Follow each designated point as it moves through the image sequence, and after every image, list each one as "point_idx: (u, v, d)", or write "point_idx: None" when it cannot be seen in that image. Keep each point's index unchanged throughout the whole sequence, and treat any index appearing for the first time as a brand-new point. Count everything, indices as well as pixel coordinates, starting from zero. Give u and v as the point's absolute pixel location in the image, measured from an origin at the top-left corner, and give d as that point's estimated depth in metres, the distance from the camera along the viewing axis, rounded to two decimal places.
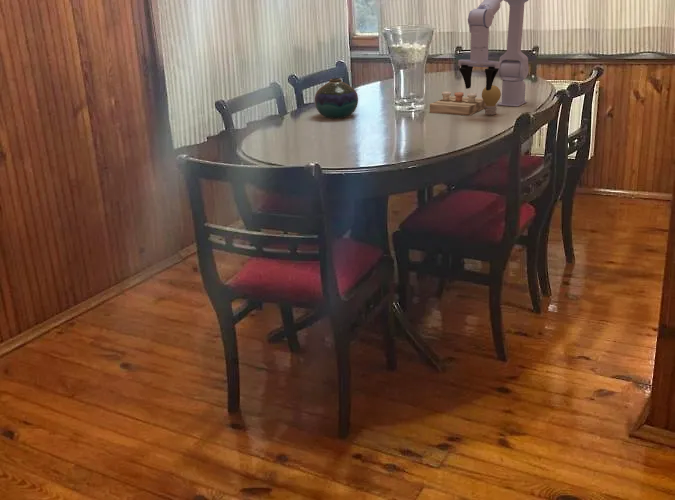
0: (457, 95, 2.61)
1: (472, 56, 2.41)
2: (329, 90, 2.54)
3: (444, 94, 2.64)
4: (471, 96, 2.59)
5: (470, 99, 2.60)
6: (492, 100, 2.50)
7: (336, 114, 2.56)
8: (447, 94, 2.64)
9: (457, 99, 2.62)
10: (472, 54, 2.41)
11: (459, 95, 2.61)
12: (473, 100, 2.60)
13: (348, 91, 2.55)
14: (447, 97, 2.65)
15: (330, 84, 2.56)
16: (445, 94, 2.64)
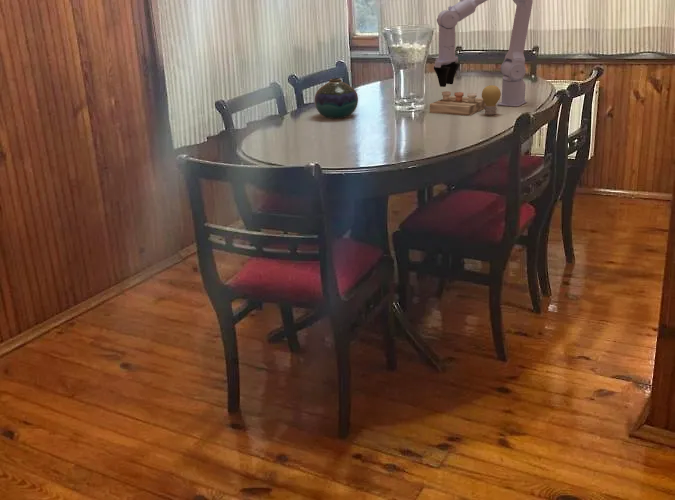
0: (457, 95, 2.61)
1: None
2: (329, 90, 2.54)
3: (444, 94, 2.64)
4: (471, 96, 2.59)
5: (470, 99, 2.60)
6: (492, 100, 2.50)
7: (336, 114, 2.56)
8: (447, 94, 2.64)
9: (457, 99, 2.62)
10: None
11: (459, 95, 2.61)
12: (473, 100, 2.60)
13: (348, 91, 2.55)
14: (447, 97, 2.65)
15: (330, 84, 2.56)
16: (445, 94, 2.64)
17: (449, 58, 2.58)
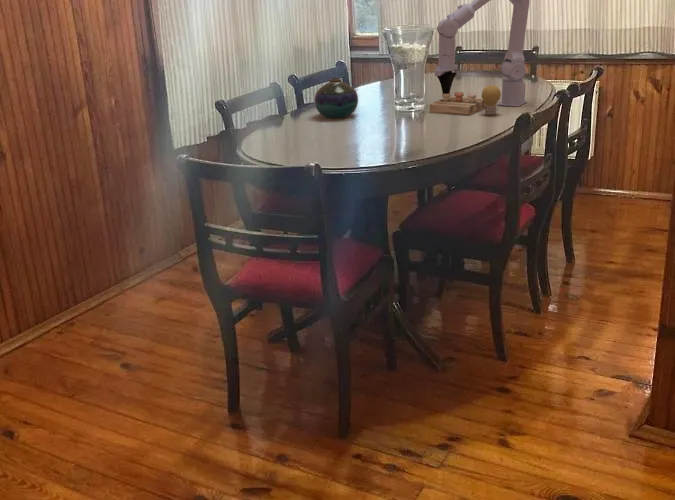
0: (457, 95, 2.61)
1: None
2: (329, 90, 2.54)
3: (444, 95, 2.64)
4: (471, 96, 2.59)
5: (470, 99, 2.60)
6: (492, 100, 2.50)
7: (336, 114, 2.56)
8: (447, 95, 2.64)
9: (457, 99, 2.62)
10: None
11: (459, 95, 2.61)
12: (473, 100, 2.60)
13: (348, 91, 2.55)
14: (447, 98, 2.65)
15: (330, 84, 2.56)
16: (445, 95, 2.64)
17: (449, 66, 2.59)
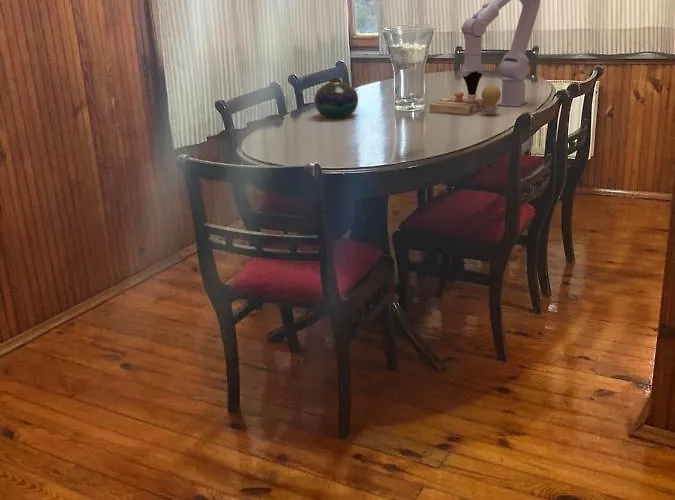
0: (457, 95, 2.61)
1: None
2: (329, 90, 2.54)
3: (444, 100, 2.65)
4: (471, 96, 2.59)
5: (470, 99, 2.60)
6: (492, 100, 2.50)
7: (336, 114, 2.56)
8: (447, 100, 2.65)
9: (457, 99, 2.62)
10: None
11: (459, 95, 2.61)
12: (473, 100, 2.60)
13: (348, 91, 2.55)
14: None
15: (330, 84, 2.56)
16: (445, 100, 2.65)
17: (475, 67, 2.54)
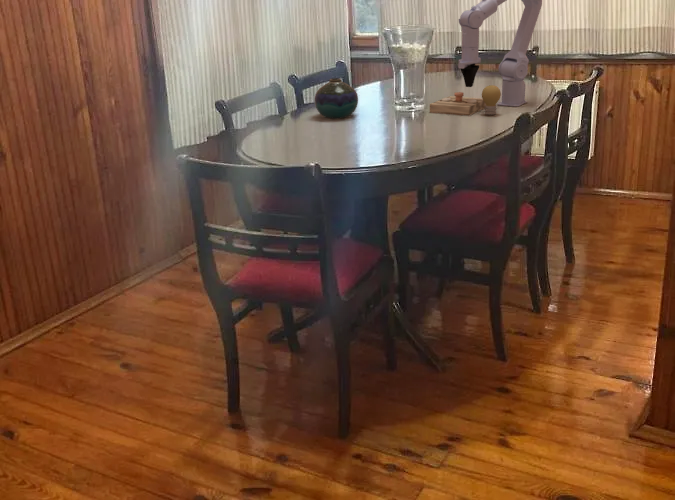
0: (457, 95, 2.61)
1: None
2: (329, 90, 2.54)
3: (444, 100, 2.65)
4: (471, 103, 2.60)
5: None
6: (492, 100, 2.50)
7: (336, 114, 2.56)
8: (447, 100, 2.65)
9: (457, 99, 2.62)
10: None
11: (459, 95, 2.61)
12: None
13: (348, 91, 2.55)
14: None
15: (330, 84, 2.56)
16: (445, 100, 2.65)
17: (473, 59, 2.53)
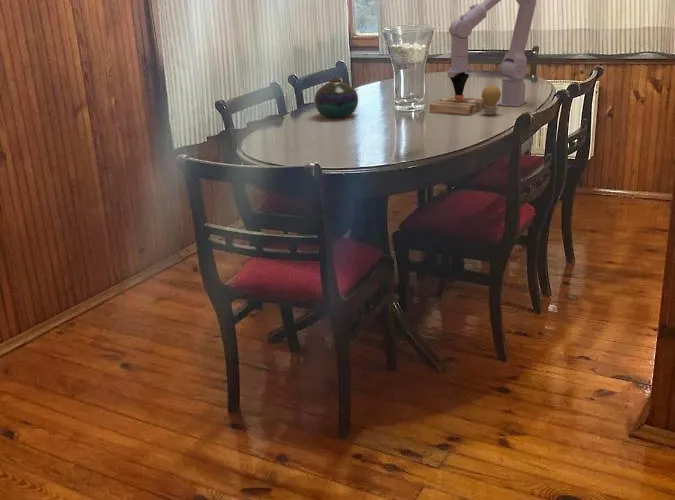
0: (457, 97, 2.62)
1: None
2: (329, 90, 2.54)
3: (444, 100, 2.65)
4: (471, 103, 2.60)
5: None
6: (492, 100, 2.50)
7: (336, 114, 2.56)
8: (447, 100, 2.65)
9: (457, 101, 2.63)
10: None
11: (459, 97, 2.62)
12: None
13: (348, 91, 2.55)
14: None
15: (330, 84, 2.56)
16: (445, 100, 2.65)
17: (462, 68, 2.57)
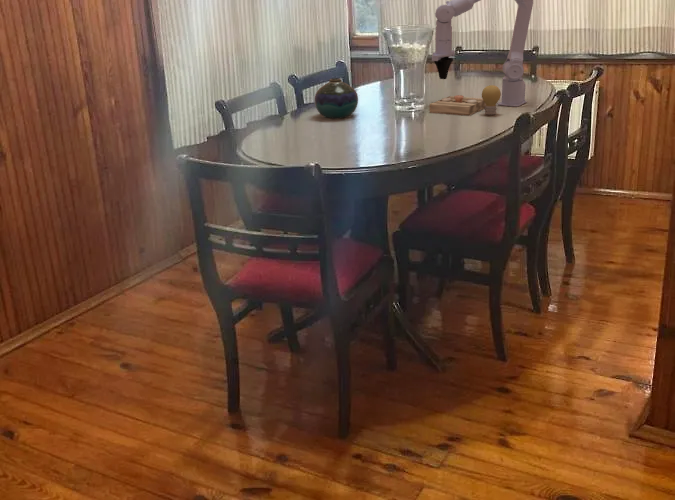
0: (457, 98, 2.62)
1: None
2: (329, 90, 2.54)
3: (444, 100, 2.65)
4: (471, 103, 2.60)
5: None
6: (492, 100, 2.50)
7: (336, 114, 2.56)
8: (447, 100, 2.65)
9: (457, 102, 2.63)
10: None
11: (459, 98, 2.62)
12: None
13: (348, 91, 2.55)
14: None
15: (330, 84, 2.56)
16: (445, 100, 2.65)
17: (446, 52, 2.62)
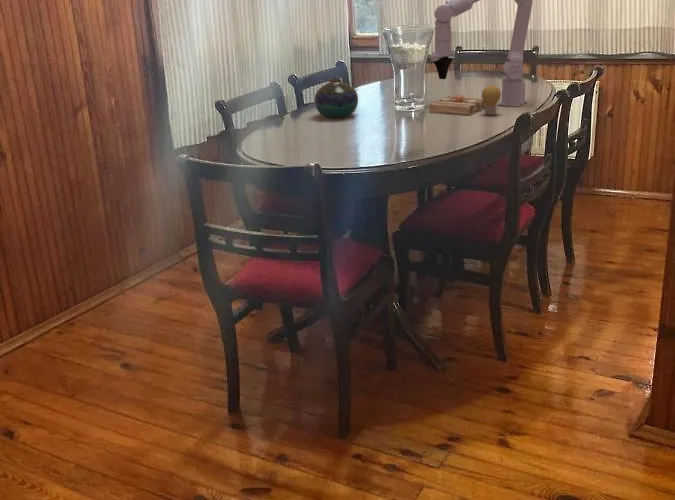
0: (457, 98, 2.62)
1: None
2: (329, 90, 2.54)
3: (444, 100, 2.65)
4: (471, 103, 2.60)
5: None
6: (492, 100, 2.50)
7: (336, 114, 2.56)
8: (447, 100, 2.65)
9: (457, 102, 2.63)
10: None
11: (459, 98, 2.62)
12: None
13: (348, 91, 2.55)
14: None
15: (330, 84, 2.56)
16: (445, 100, 2.65)
17: (445, 52, 2.62)
